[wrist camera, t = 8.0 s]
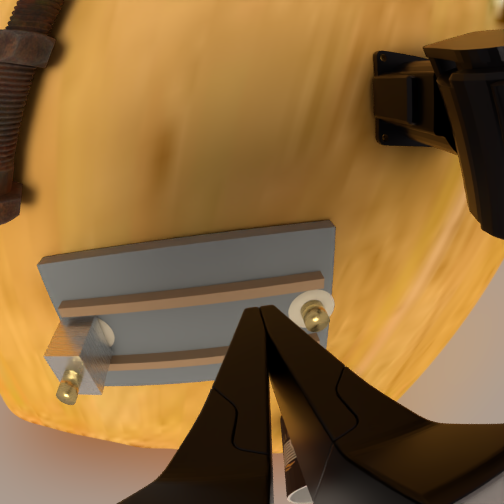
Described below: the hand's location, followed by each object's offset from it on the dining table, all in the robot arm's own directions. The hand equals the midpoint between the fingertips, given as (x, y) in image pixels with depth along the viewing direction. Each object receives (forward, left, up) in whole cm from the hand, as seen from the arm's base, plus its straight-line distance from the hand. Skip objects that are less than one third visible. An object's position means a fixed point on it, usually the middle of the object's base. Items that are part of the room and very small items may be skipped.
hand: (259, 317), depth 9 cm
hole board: (+4, +9, -12) cm, 16 cm away
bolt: (+13, -9, -12) cm, 20 cm away
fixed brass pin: (-5, +9, -11) cm, 15 cm away
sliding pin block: (+12, +9, -11) cm, 19 cm away
